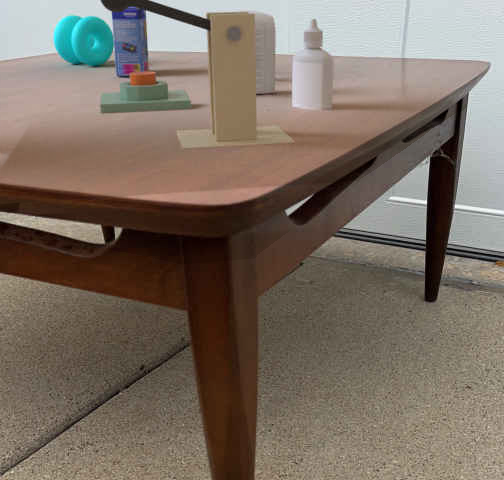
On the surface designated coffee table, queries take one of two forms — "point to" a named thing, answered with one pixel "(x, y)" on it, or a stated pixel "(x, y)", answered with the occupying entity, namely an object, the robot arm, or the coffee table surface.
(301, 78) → the eye dropper bottle
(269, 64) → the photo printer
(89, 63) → the cyan double wheel
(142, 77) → the button
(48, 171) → the coffee table surface
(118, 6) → the lever
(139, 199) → the coffee table surface
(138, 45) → the ink cartridge box
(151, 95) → the button box
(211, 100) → the bracket
